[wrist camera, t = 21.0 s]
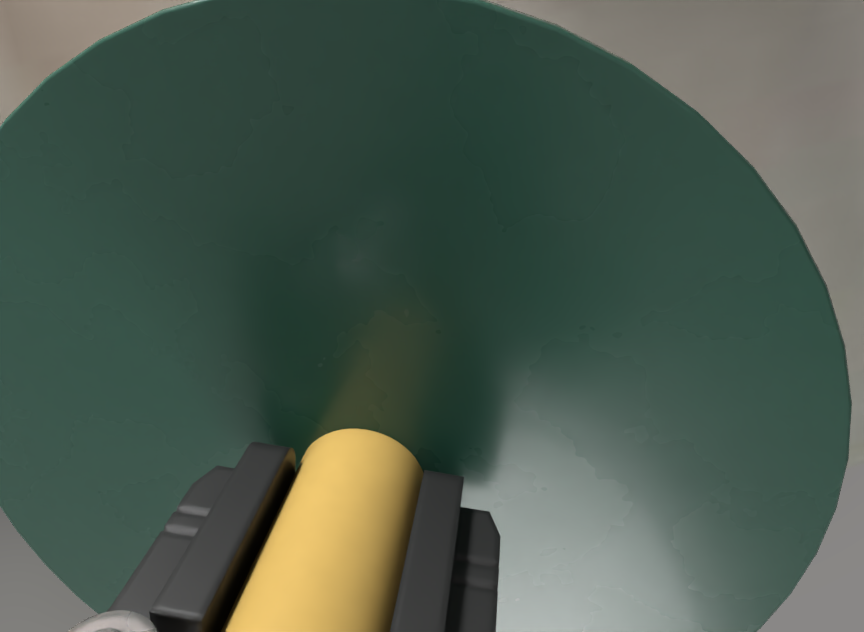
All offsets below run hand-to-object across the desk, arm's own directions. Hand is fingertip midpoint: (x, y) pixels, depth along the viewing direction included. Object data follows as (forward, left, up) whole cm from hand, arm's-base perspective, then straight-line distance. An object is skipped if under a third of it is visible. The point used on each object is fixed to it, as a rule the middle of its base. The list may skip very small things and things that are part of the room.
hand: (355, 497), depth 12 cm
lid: (0, 0, -1) cm, 1 cm away
